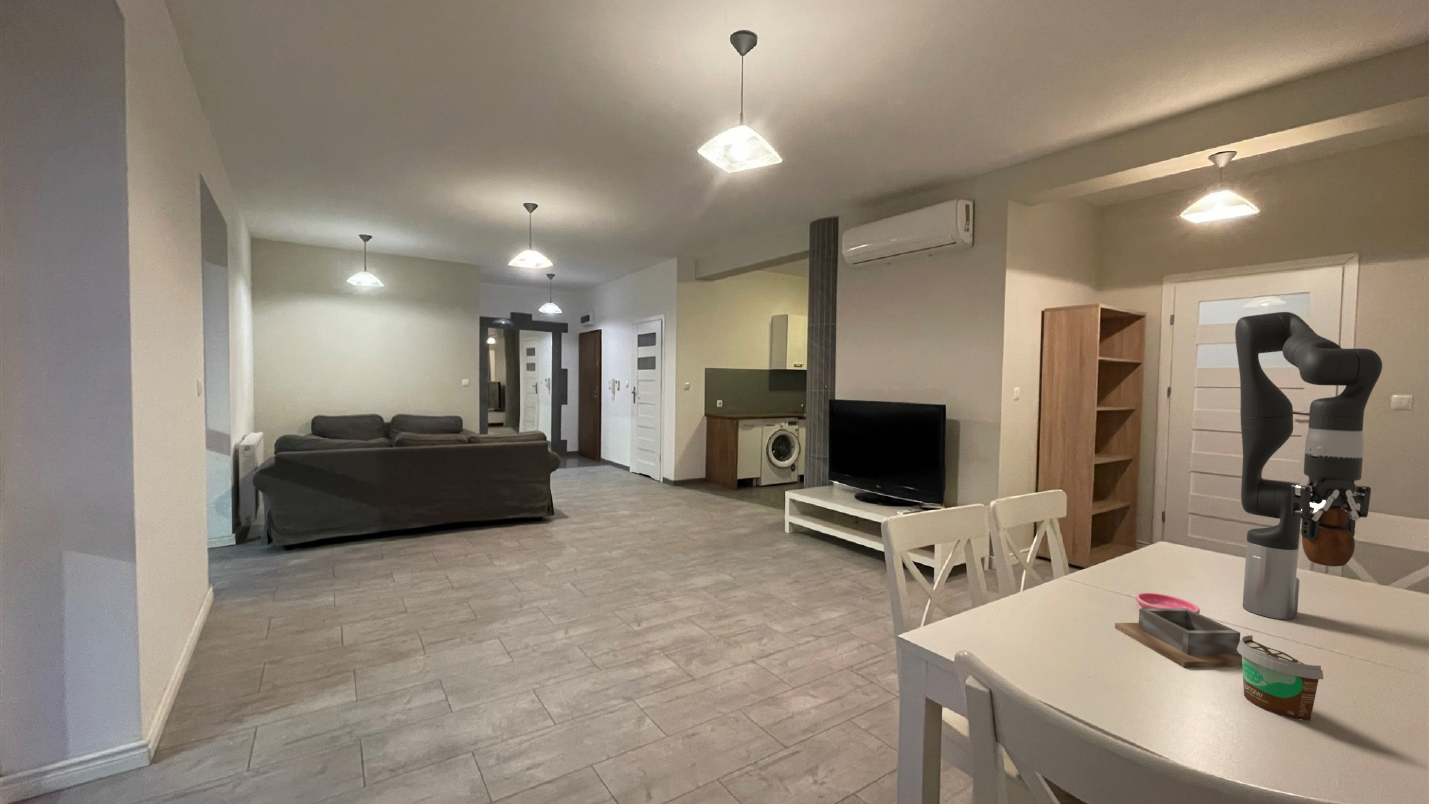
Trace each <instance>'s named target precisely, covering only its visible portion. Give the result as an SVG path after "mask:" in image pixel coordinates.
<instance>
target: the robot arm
mask: <svg viewBox="0 0 1429 804" xmlns="http://www.w3.org/2000/svg"><path fill="white" fill-rule="evenodd" d="M1234 333H1235V335H1234V336H1235V337H1234V338H1235V348H1236V355H1237V362H1238V370H1239V371H1238V373H1239V379H1240V380H1239V381H1240V383H1239V384H1240V387H1239V388H1240V414H1239V415H1240V430H1241V438H1242V439H1241V441H1242V442H1241V443H1242V467H1241V468H1242V470H1241V471H1242V472H1241V489H1240V490H1241V491H1240V500H1241V501H1240V502H1241V507H1242V509H1243V510H1244V511H1245V512H1246V513H1247V514H1250V515H1255V516H1260V517H1266V518H1272V519H1279V523H1278V524H1277V525H1274V526H1270V527H1261V528H1259V527H1258V528H1252V529H1248V531H1247V534H1246V548H1245V549H1246V550H1245V563H1244V564H1245V565H1244V578H1243V579H1244V580H1243V591H1242V592H1243V594H1242V609H1244V610H1246V611H1248V612H1250V613H1253V614H1256V615H1260V616H1263V617H1266V618H1267V617H1268V618H1273V619H1279V620H1292V619H1294V618H1295V617H1298V610H1299V607H1298V606H1299V593H1300V579H1299V578H1298V577H1297V570H1298V569H1297V568H1298V558H1299V557H1298V555H1299V542H1300V541H1299V540H1300V534H1301V538H1302V537H1303V538H1306V539H1310V540H1317V539H1318V531H1319V521H1317V520H1318V519H1319V518H1320V516H1321V514H1322V513H1323V512H1325V511H1327V510H1328V508H1329V507H1333V506H1338V507H1341V509H1344V510H1345V511H1346V512H1347V515H1348V522H1347V524H1346V525H1345V526H1342V527H1344V528H1346V529H1348V530H1349V531H1350V532H1351V533H1352V535H1353V537H1354V538H1355V534H1356V522H1357V521H1359V519H1360V518H1367V517H1368V515H1369V508H1370V499H1371V495H1372V494H1371V492H1372V488H1371V487H1370V486H1368V485H1367V486H1365V485H1361V484H1355V482H1356V481H1360V480H1361V479H1362V473H1363V459H1364V458H1363V457H1364V447H1365V446H1364V445H1365V443H1364V436H1363V435H1364V434H1363V430H1364V420H1365V419H1364V417H1365V416H1364V415H1365V409H1366V406H1367V404H1368V400H1369V399H1370V396H1371V395H1372V391H1374V387H1375V386H1376V385H1377V382H1378V380H1379V378H1380V376H1381V373H1382V370H1383V360H1382V359H1381V356H1380V355H1379V353H1378V354H1377V352H1376V351H1374V350H1372V349H1370V348H1342V347H1341V346H1340V345H1339V344H1338V343H1336V342H1334V341H1332V340H1331V339H1328V338H1326V337H1323V336H1321V335H1319V334H1317V333H1316V332H1315V331H1314V329H1312V328H1311V327H1310V325H1309V324H1308V323H1307V322H1306V321H1305V320H1304V319H1302V317H1300V315H1297V314H1295V313H1293V312H1289V311H1278V312H1277V311H1276V312H1272V313H1271V312H1269V313H1263V314H1254V315H1246V316H1243V317H1240V318H1238V320H1237V322H1236V324H1235V331H1234ZM1276 352H1282V355H1283V357H1284V359H1285V360H1286V361H1287V362H1288V363H1289V364H1291V365H1293V366H1295V367H1296V368H1298V371H1299V376H1300V378H1301V380H1302V381H1303V382H1305V383H1307V384H1311V385H1316V386H1339V387H1340V386H1341V387H1342V386H1345V388H1344V389H1343V390H1342V392H1341V393H1340V394H1338V395H1336V396H1329V397H1321V398H1317V399H1315V400H1312V401H1311V403H1310V405H1309V410H1308V411H1309V413H1308V414H1309V415H1308V417H1309V418H1308V430H1307V434H1306V438H1305V443H1304V444H1305V447H1304V460H1303V461H1304V462H1303V464H1304V465H1303V474H1304V475H1305V476H1306V477H1308V481H1307V483H1306V484H1302V485H1301V484H1298V483H1294V482H1287V481H1279V480H1273V479H1272V480H1271V479H1263V477H1262V474H1263V470H1264V467H1265V465H1266V464H1267V463H1268V461H1269V460H1270V459H1271V457H1272V456H1273V455H1274V454H1276V452H1277V451H1278V450H1279V449H1280V448H1281V447H1282V446H1284V445H1285V443H1286V442H1287V441H1288V440H1289V438H1290V437H1291V436H1292V433H1293V431H1294V410H1293V407H1294V406H1293V404H1292V402H1291V400H1290V399H1289V398H1288V396H1287V395H1286V394H1285V393H1284V392H1283V391H1282V390H1281V389H1280V388H1279V387H1278V386H1277V385H1276V384H1275V383H1274V382H1273V381H1272V380H1271V379H1270V378H1269V377H1268V376H1267V374H1266V373H1265V372H1264V370H1263V368H1262V366H1261V363H1260V360H1259V358H1260V357H1259V354H1267V353H1268V354H1269V353H1276ZM1357 504H1359V505H1360V506H1359V509H1358V506H1357ZM1312 509H1315V510H1314V511H1313V513H1311V510H1312Z"/></svg>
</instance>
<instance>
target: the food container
mask: <svg viewBox="0 0 1429 804" xmlns="http://www.w3.org/2000/svg"><path fill="white" fill-rule="evenodd" d="M1253 638H1254V637H1253V635H1252V634H1250V635H1244V636H1243V637H1242V638H1241V639H1240V642H1239V645H1238V647H1237V651H1238V652H1239V653H1240V654H1241V655H1242V666H1243V667H1242V682H1243V683H1242V685H1243V696H1244V698H1245V699H1246V700H1247V701H1248V702H1250V703H1251V704H1252V705H1254V706H1256V707H1257V708H1260V709H1262V710H1264V711H1267V712H1270V713H1272V714H1275V715H1278V716H1281V717H1285V718H1289V719H1294V720H1299V719H1302V720H1301V721H1311V719H1312V715H1313V710H1314V703H1315V700H1316V695H1317V690H1318V685H1319V680H1324V671H1323V670H1322V666H1321V665H1317V664H1316V665H1314V664H1306V663H1303V662H1301V661H1300V660H1297V659H1296V658H1295V657H1293V656H1291V655H1290V654H1287V653H1285V652H1283V651H1281V650H1277V649H1274V648H1271V647H1269V646H1266V645H1263V644H1261V643H1258V642H1256V641H1255V640H1254V639H1253Z"/></svg>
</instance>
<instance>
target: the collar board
mask: <svg viewBox="0 0 1429 804" xmlns="http://www.w3.org/2000/svg"><path fill="white" fill-rule="evenodd" d="M1114 628H1115V629H1116V630H1117V629H1118V631H1119V632H1120V633H1123V634H1124V633H1125V634H1124V635H1126V636H1128V637H1130V638H1132V639H1133V640H1135V641H1137V642H1138V641H1139V642H1138V643H1140V644H1141V645H1143V646H1146V647H1147V648H1149V649H1151V650H1153V651H1154V652H1155V653H1158V654H1160V655H1162V656H1163V657H1164V658H1166V659H1168V660H1170V661H1172V663H1175V664H1177V665H1178V666H1180V667H1182V668H1183V669H1184V668H1186V669H1187V668H1191V669H1192V668H1193V669H1194V668H1243V666H1242V655H1241V654H1240V653H1239V652H1238V651H1237V647H1238V645H1239V642H1240V640H1241V632H1240V631H1238V630H1235V629H1233V628H1231V627H1229V626H1226V625H1224V624H1222V623H1220V622H1218V621H1215V620H1213V619H1211V618H1209V617H1207V616H1204V615H1203V614H1200V613H1199V614H1198V613H1196V612H1194V611H1191V610H1189V609H1187V608H1168V609H1142V608H1139V612H1138V622H1115V623H1114Z"/></svg>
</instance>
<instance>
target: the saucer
mask: <svg viewBox="0 0 1429 804" xmlns="http://www.w3.org/2000/svg"><path fill="white" fill-rule="evenodd" d="M1135 601H1136V602H1137V603H1138V605H1139V606H1140V607H1141V609H1168V608H1187V609H1189V610H1191V611H1194V612H1196V613H1198V614H1200V611H1201V609H1200V608H1199V607H1198V606H1197V605H1196V604H1194V603H1193V602H1191V601H1188V600H1186V599H1183V598H1180V597H1176V596H1172V595H1169V594H1163V593H1156V592H1141V593H1137V594H1136V596H1135Z"/></svg>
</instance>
